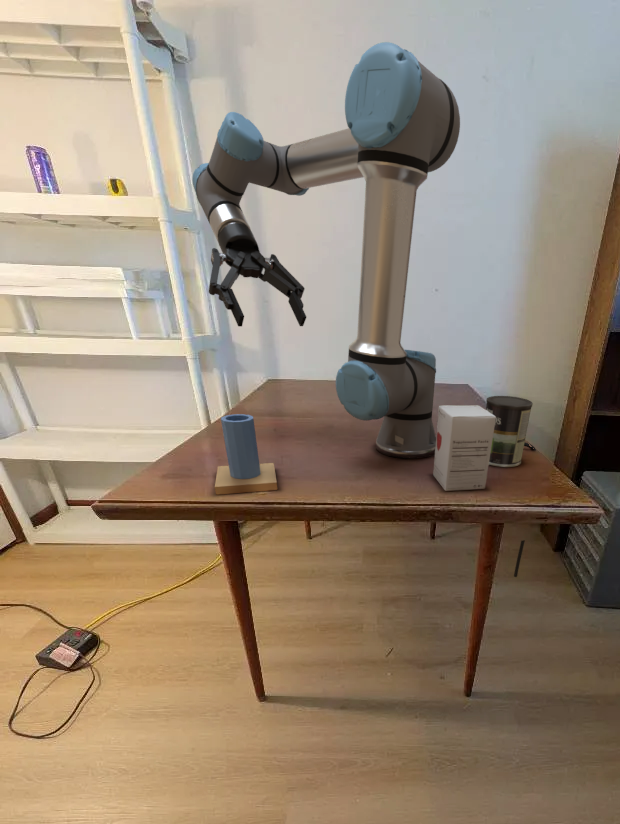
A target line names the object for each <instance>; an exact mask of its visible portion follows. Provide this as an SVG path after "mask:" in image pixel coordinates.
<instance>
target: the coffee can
mask: <svg viewBox="0 0 620 824" xmlns="http://www.w3.org/2000/svg"><path fill="white" fill-rule="evenodd" d="M533 405H534V403H533V402H532V400H529V399H527V398H523V397H518V396H510V395H492V396H488V397H487V398H486V405H485V410H487V411H488V412H490V413H491V414H493V415H494V416H496V420H495V427H494V433H493V440H492V446H491V453H490V459H489V466H492V467H497V468H515V467H517V466H520V465H521V464H522V459H523V452H524V448H525V446H524V443H526V438H527V437H526V436H527V433H528V428H529V427H528V426H529V421H530V416H531V411H532V408H533Z"/></svg>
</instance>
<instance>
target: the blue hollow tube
mask: <svg viewBox="0 0 620 824" xmlns="http://www.w3.org/2000/svg"><path fill="white" fill-rule="evenodd" d="M220 422H221V428H222V435H223V440H224V445H225V451H226V458H227V463H228V466H229V470H230V476H231V477H233V478H236V479H250V478H254V477H257V476H258V475H260V474H261V472H260V464H261V463H260V458H259V449H258V443H257V435H256V434H257V433H256V429H255V420H254V416H253V415H250V414H244V413H236V414H235V413H234V414H228V415H227V414H226V415H224V416H221V418H220Z"/></svg>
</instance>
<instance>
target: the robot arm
mask: <svg viewBox="0 0 620 824" xmlns="http://www.w3.org/2000/svg"><path fill="white" fill-rule="evenodd" d="M350 73H351V74H350V76H349V79H348V82H347V85H346V89H345V90H346V91H345V99H344V114H345V120H346V125H347V128H345V129H342V130H338V131H334V132H330V133H327V134H324V135H323V134H322V135H319V136H315V137H312V138H309V139H304V140H301V141H297V142H294V143H291V144H287V145H283V146H280V145H276V144H274V143H271V142H268V141H266V140H264V137H263V134H262V133H261V131H260V129H258V127H257V126H256V125H255V124H254V123H253V122H252V121H251V120H250V119H248V118H246V117H245V116H244V115H243V114H241V113H239V112H237V111H229V112H228V113H226V115H225V117H224V119H223V121H222V122H221V124H220V127H219V129H218V131H217V136H216V140H215V142H214V146H213V149H212V152H211V155H210V158H209V160H208V161H209V162H205V163H201V164H200V165H199V166H198V167H197V168H195V169H194V170H193V173H192V176H191V178H192V179H191V180H192V182H191V183H192V186H193V189H194V192H195V195H196V199H197V202H198V204H199V205H200V207H201V209H202V211H203V213H204V215H205V217H206V220H207V221H208V224H209V226H210V229H211V231H212V233H213V235H214V237H215V239H216V241H217V243H218V246H219V248H220V251H221V252H220V251H219V250H218V248H216V247H213V248H212V249H211V255H210V262H211V265H212V266H211V267H212V268H211V273H210V278H209V285H208V294H209V295H211V296H215V295H218V300H219V301H220V302H222V303H223V305H224V307H225V308H226V310H229V311H231V313H232V316H233V319H234V320H235V323H236V325H237V327H243V323H244V320H245V314H244V312H243V310H242V308H241V305H240V304H239V302H238V299H237V297H236V294H235V291H234V290H233V288H232V287H233V285H234V284H235V282H236V281H237V280H238V279H239V276H242V277H243V278H253V279H259V280H260V281H262V282H264V283H265V282H267V283H268V284H269V285H270V286H272V287H273V288H274V289H276V290H277V291H279V292H280V293H282V294H283V296H285V297H287V298H288V304H289V307H290V308H291V310H292V312H293V315H294V317H295V319H296V321H297V324H298V325H299V327H303V326H304V325H305V322H306V320H307V315H306V313H305V310H304V303H303V301H302V297H303V296H304V292H305V289H306V288H305V287H304V286H303V284H301V283H300V282H299V280H298V279H297V278H295V276H294V275H293V274H292V273H291V272H290V271H289V270H288V269H287V268H286V267H285V266H284V265H283V264H282V263H281V262H280V260H279V258H278V256H276V255H275V254H274V253H272V254H270V256H269V257H265V256H264V255H263V254H262V253H261V250H260V247H259V245H258V242H257V240H256V237H255V236H254V234H253V231H252V230H251V227H250V225H249V222H248V220H247V218H246V216H245V214H244V212H243V210H242V208H241V205H240V204H241V200H242V198H243V196H244V195H245V192H246V190H247V188H248V186H249V184H252V185H256V186H260V187H263V188H267V189H271V190H274V191H278V192H281V193H284V194H286V195H288V196H298V197H299V196H304V195H305V194H306V193H307V192H308V191H309V189H310V188H315V187H322V186H325V185H332V184H336V183H337V184H338V183H341V182H342V183H343V182H347V181H351V180H357V179H363V178H364V181H365V188H364V190H365V191H364V205H363V207H364V208H363V212H364V213H363V223H362V224H363V226H362V242H361V243H362V244H361V263H360V279H359V280H360V281H359V282H360V283H359V296H358V298H359V299H358V317H357V332H356V338H355V339H354V340H353V341H352V342H351V343H350V344H349V345H348V356H347V362H344V363H343V364H342V365H341V366H340V368H339V369H338V371H337V373H336V375H335V390H336V395H337V398H338V400H339V402H340V404H341V405H342V406H343V407H344V410H345V411H346V412H347V413H348V414H349V415H350V416H352V417H353V418H355V419H357V420H360V421H372V420H380V419H382V422H381V426H380V428H379V431H378V434H377V438H376V440H375V441H376V442H375V444H376V446H375V447H376V450H377V452H379V453H381V454H382V455H385V456H388V457H391V458H397V459H410V460H411V459H413V460H414V459H423V458H428V457H431V456H434V455H435V447H436V431H435V427H434V423H433V408H434V395H435V384H436V374H437V368H436V367H437V364H436V363H437V359H436V356H435V354H433V353H432V352H429V351H421V350H412V349H405V348H404V347H403V345H402V343H401V341H402V331H403V322H404V314H405V304H406V294H407V285H408V276H409V275H408V274H409V267H410V266H409V265H410V256H411V248H412V247H411V246H412V237H413V230H414V220H415V219H414V218H415V211H416V201H417V192H418V189H419V187H420V186H421V185H422V184H424V183H425V181H426V180H428V173H431V172H434V171H437V170H438V169H440V168H441V167H443V166H444V165H445V164H446V163H447V162H448V161H449V159H450V158H451V156H452V155H453V153H454V151H455V149H456V146H457V144H458V141H459V137H460V130H461V116H460V115H461V114H460V108H459V105H458V101H457V99H456V96H455V94H454V92H453V91H452V89H451V88H450V87H449V86H448V84H447V83H446V82H444V81H443V80H442V79H441V78H440V77H438V76H437V75H435V73H433V72H432V71H431V70H430V69H428V68H427V66H425V65H424V64H423V63H421V62H420V61H419V60H418V58H417V56H415V55H414V53H412V52H411V51H409V50H408V49H405V48H402V47H401V46H400V45H398V44H396V43H394V42H389V41H384V42H379V43H376V44H373V45H372V46H370V47H369V48H368V49H367V50H365V51H364V53H363V54H362V55H361V57H360V60H359V61H358V63H356V64H355V65H354V67H353V69H352V71H351V72H350ZM224 262H225V264H226V265H227V266H228V267H230V268H229V270H228V272H227V274H226V275H225V277H223V280H222V281H221V283H220V284H219V283H218V280H219V275H220V274H219V273H220V267H221V266H222V265H224ZM263 270H264V272H263ZM528 443H529V442H525V443H524V447H526V448H529V449H530V451H534V452H536V451H537V449H536V447H535V446H534V445H533V444H531V443H529V444H530V445H531V446H532V447H530V446H529V444H528ZM533 448H534V449H533ZM525 541H526V540H524V539H523V540H520V546H519V549H518V553H517V558H516V563H515V567H514V574H513V577H514V578H517V577H518V574H519V569H520V564H521V559H522V555H523V550H524V546H525Z"/></svg>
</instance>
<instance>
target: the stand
mask: <svg viewBox="0 0 620 824" xmlns="http://www.w3.org/2000/svg"><path fill="white" fill-rule="evenodd" d="M259 464H260V472H261V474H260V475H258V476H257V477H254V478H250V479H236V478H233V477H231V476H230V470H229V465H217V470H216V477H215V482H214V491H215V495H217V496H219V495H229V494H231V495H232V494H242V493H255V492H268V491H278V481H277V476H276V468H275V463H274V462H267V463H266V462H265V463H259Z"/></svg>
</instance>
